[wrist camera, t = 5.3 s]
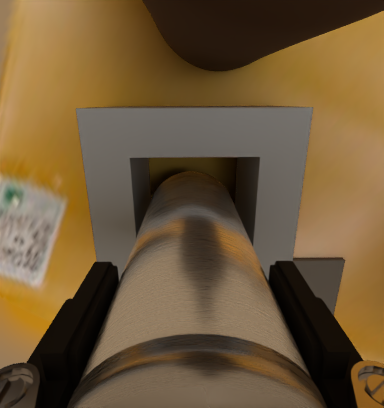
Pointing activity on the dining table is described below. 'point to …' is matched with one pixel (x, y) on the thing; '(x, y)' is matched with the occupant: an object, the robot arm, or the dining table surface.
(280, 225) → the housing
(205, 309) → the silver metallic cylinder
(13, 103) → the dining table surface
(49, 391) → the robot arm
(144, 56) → the dining table surface
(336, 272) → the mat
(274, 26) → the olive oil
